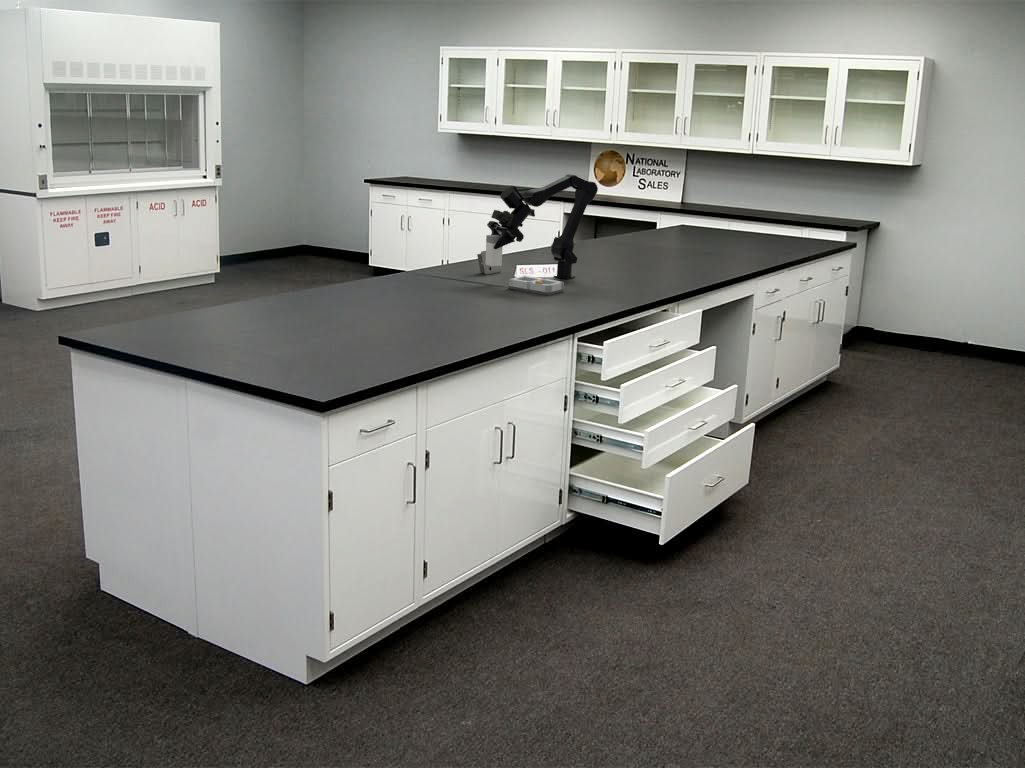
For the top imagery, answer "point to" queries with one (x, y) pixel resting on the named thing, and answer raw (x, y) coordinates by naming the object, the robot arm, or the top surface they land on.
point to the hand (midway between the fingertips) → (491, 247)
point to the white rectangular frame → (536, 285)
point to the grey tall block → (493, 251)
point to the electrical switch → (484, 267)
